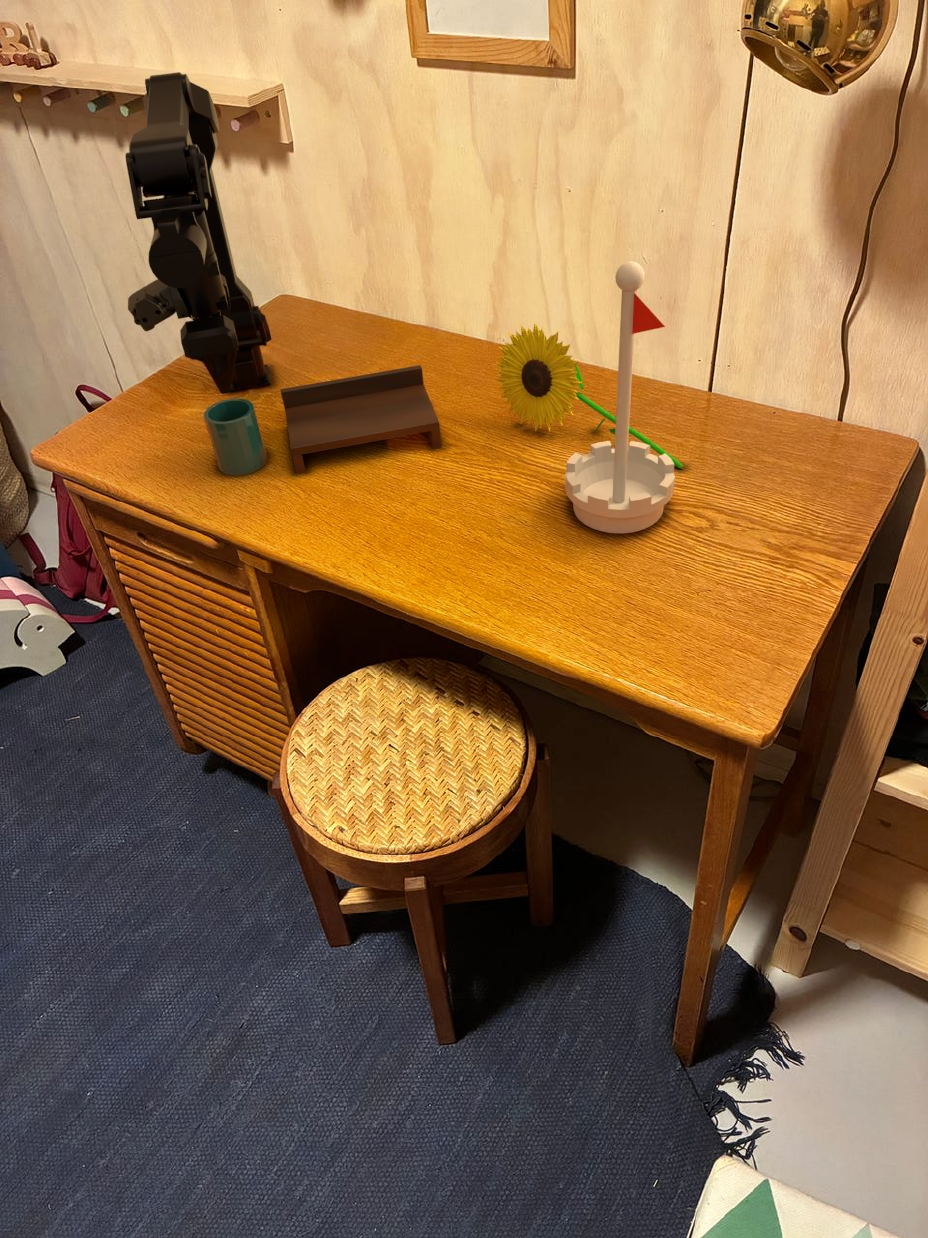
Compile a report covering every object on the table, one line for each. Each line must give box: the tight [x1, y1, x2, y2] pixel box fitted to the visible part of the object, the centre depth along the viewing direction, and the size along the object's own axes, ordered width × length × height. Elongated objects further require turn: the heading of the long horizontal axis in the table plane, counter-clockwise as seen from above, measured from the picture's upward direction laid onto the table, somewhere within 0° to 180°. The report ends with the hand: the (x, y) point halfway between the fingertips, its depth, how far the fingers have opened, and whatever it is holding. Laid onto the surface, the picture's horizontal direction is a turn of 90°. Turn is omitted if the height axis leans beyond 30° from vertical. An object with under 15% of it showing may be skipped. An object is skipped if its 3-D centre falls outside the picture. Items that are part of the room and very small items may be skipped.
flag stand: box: [564, 261, 676, 534], centre depth 102 cm, size 13×13×30 cm
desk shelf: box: [280, 364, 442, 474], centre depth 126 cm, size 12×20×6 cm, turn 103°
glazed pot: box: [203, 397, 268, 477], centre depth 124 cm, size 7×7×8 cm
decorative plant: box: [494, 322, 684, 470], centre depth 121 cm, size 15×6×30 cm
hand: (223, 376), depth 118 cm, fingers open, 9 cm apart
